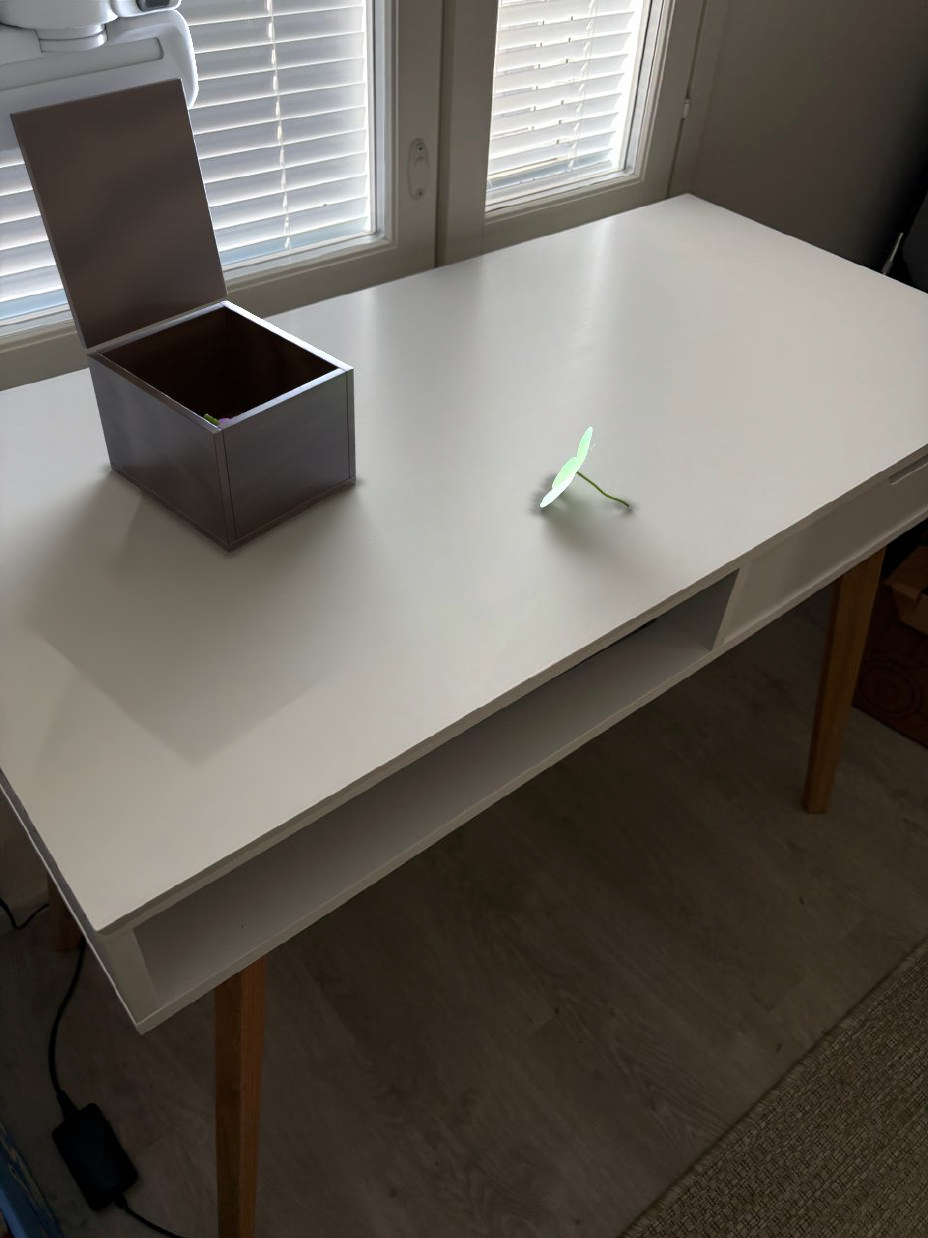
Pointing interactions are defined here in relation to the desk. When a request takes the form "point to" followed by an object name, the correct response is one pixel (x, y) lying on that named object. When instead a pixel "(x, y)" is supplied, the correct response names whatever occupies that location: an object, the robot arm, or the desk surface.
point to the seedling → (573, 472)
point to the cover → (123, 207)
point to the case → (238, 448)
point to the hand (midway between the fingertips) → (90, 190)
